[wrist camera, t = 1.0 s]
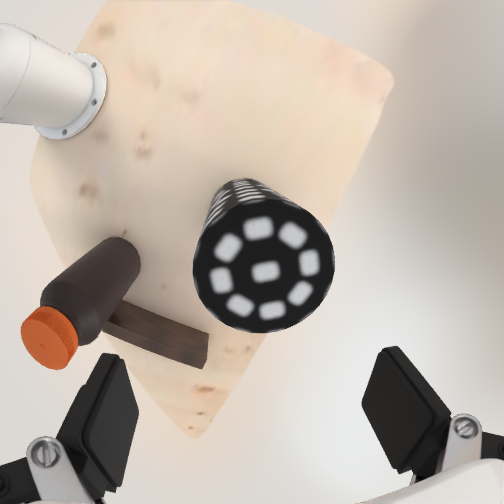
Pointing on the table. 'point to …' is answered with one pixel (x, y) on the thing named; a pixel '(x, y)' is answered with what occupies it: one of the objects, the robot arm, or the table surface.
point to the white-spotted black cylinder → (261, 259)
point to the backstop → (158, 334)
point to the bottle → (80, 302)
